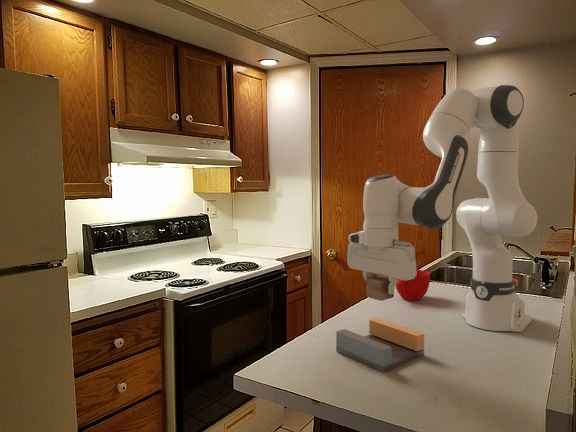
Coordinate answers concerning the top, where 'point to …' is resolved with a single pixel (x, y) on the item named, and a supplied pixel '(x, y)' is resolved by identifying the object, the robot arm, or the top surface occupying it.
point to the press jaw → (397, 334)
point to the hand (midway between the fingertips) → (380, 290)
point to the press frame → (374, 350)
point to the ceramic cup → (414, 286)
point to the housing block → (377, 287)
